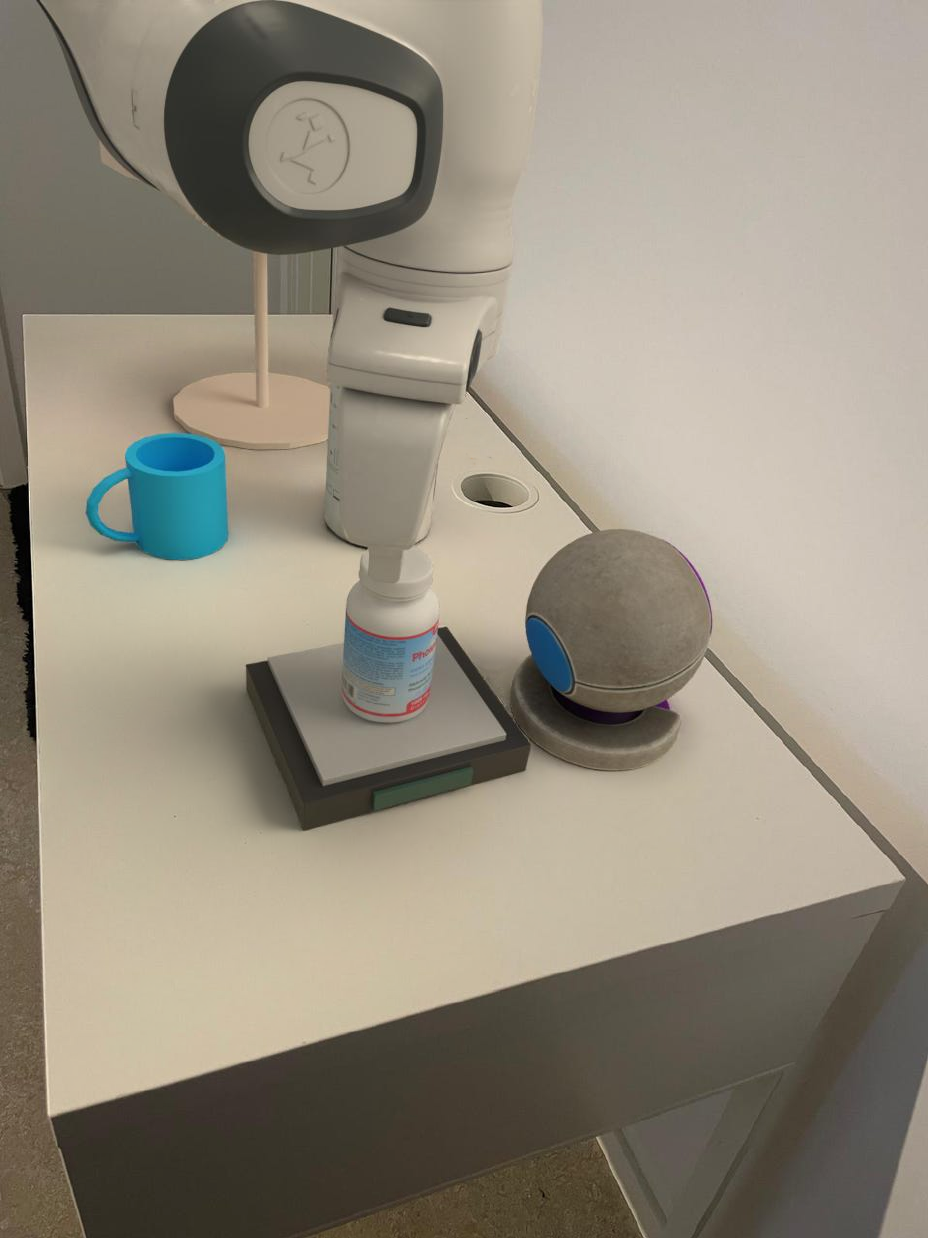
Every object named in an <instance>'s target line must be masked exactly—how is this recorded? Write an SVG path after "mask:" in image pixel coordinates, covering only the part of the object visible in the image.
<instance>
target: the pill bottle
mask: <svg viewBox="0 0 928 1238" xmlns="http://www.w3.org/2000/svg"><path fill="white" fill-rule="evenodd" d="M368 565H369V551H368V548H366V550H365V551H363V553H362V555H361V557H360V561H359V569H358V578H359V579H358V580H357V582H355V583H354V585H352V587H351V588H350V589H349V592H348V593H347V597H346V604H345V618H344V619H345V620H344V633H343V643H344V650H343V670H342V696H343V699H344V702H345V703H346V705H347V706H348V708H349V709H350V710H351V711H352V712H354V713H355V714H356V715H358V716H360V717H362V718H364V719H367V720H370V721H375V722H385V723H395V722H401V721H406V720H409V719H411V718H413V717H415V716H417V715H418V714H419V713H420V712H422V710H423V709H424V708H425V707H426V705H427V703H428V700H429V695H430V688H431V680H432V672H433V664H434V655H435V647H436V640H437V631H438V628H439V624H440V623H439V622H440V616H441V615H440V613H441V605H440V600H439V597H438V595H437V593H436V591H435V589H434V588H433V587H432V584H433V581H434V577H433V576H434V562H433V559H432V558H431V556H430V555H429V553H427V552H425V551H424V550H422V549H421V548H419V547H416V546H415V545H414V546H413V547H412V548H411V549H409V550H404V557H403V566H402V570H401V575H400V579H399V580H398V582H396V583H393V584H391V583H384V582H378V581H373V580H372V579H370V578H369V575H368Z"/></svg>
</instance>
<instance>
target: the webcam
mask: <svg viewBox="0 0 928 1238" xmlns="http://www.w3.org/2000/svg"><path fill="white" fill-rule="evenodd" d="M712 611H713V610H712V606H711V600H710V598H709V594H708V591H707V588H706V585H705V583H704V581H703V580H702V577H701V576H700V574H699V572H698V571H697V569H696V568H695V567H694V564H692V561H690V560H689V559H688V557H687V556H685V554H683V553H682V552H681V551H680V550H679V549H677V547H675V546H674V545H672V544H671V543H670V542H668V541H666V540H665V539H662V538H659V537H657V536H654V535H651V534H648V533H645V532H644V531H640V530H636V529H635V530H633V529H624V528H615V529H614V528H612V529H611V528H610V529H604V530H598V531H594V532H592V533H588V534H585V535H582V536H580V537H579V538H576V539H575V540H573V541H571V542H570V543H568V544H566V545H564V546H563V547H562V548H561V549H559V550H558V551H556V553H554V555H552V557H551V558H549V560H548V561H547V562H546V563H545V565H544V566H543V567H542V569H541V570H540V571H539V573H538V574H537V577H536V578H535V580H534V582H533V584H532V587H531V590H530V591H529V595H528V598H527V602H526V609H525V618H524V628H525V636H526V641H527V645H528V649H529V651H530V654H529V655H528V656H527V657H526V658H525V659H524V660H523V661H522V662H521V663H520V664H519V666H518V668H517V670H516V671H515V674H514V677H513V680H512V683H511V688H510V693H509V703H510V709H511V712H512V714H513V717H514V719H515V721H516V724H518V727H520V730H521V731H522V732H523V733H524V734H525V735H526V736H527V737H528V738H529V739H530V740H532V741H533V742H534V743H535V744H536V745H537V746H539V747H540V748H542V749H543V750H544V751H546V752H548V753H549V754H551V755H553V756H555V757H557V758H559V759H562V760H564V761H566V762H568V763H570V764H571V763H572V764H574V765H578V766H580V767H585V768H588V769H594V770H602V771H603V770H604V771H624V770H625V771H626V770H634V769H637V768H643V767H645V766H648V765H651V764H654V763H655V762H657V761H659V760H660V759H661V758H663V757H664V756H665V755H667V754H668V753H669V751H670V750H671V749H672V748H673V746H674V744H675V743H676V741H677V738H678V735H679V733H680V728H681V725H682V720H683V719H682V714H681V713H680V712H677V711H675V710H671V708H670V704H669V701H668V700H669V699H671V697H673V696H674V695H675V694H677V693H679V691H681V690H682V689H683V688H684V687H686V685H687V684H688V683H689V682H690V681H691V680H692V678H694V676H695V674H696V673H697V671H698V670H699V668H700V667H701V664H702V663H703V660H704V658H705V656H706V653H707V649H708V646H709V643H710V638H711V636H712V631H713V612H712Z"/></svg>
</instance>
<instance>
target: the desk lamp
mask: <svg viewBox="0 0 928 1238" xmlns="http://www.w3.org/2000/svg"><path fill="white" fill-rule="evenodd" d="M98 142H99V152H100V160H101V163H102V164H104V165H105V166H107V167H109V168H110V169H112V170H114V171H115V172H118V173H119V174H121V175H123V176H124V177H126V178H128V179H129V178H130V179H133V180H136V181H140V182H142V181H141V180H139V179H138V178H136V177H135V176H133V175H132V174H131V173H129V172H128V171H127V170H126V169H125V168H123V167H122V166H121V165H120V164H119V163H118V162H117V161H116V160H115V159H114V158H113V157H112V155H111V154H110V153H109V152H108V151H107V149H106V148H105V147H104V146H103V144H102V143H101V141H100V140H99V139H98ZM252 252H253V254H252V255H253V259H252V260H253V306H254V313H253V314H254V358H255V359H254V360H255V361H254V365H255V372H248V371H247V372H239V371H238V372H233V373H232V372H231V373H226V374H218V375H212V376H207V377H205V378H202V379H200V380H197V381H195V382H192V383H189V384H187V385H185V386H183V388H182V389H181V390H180V391H178V393H177V394H176V395H175V396H174V397H173V398H172V400H173V403H172V404H173V416H174V417H173V418H174V420H175V421H176V422H177V423H178V424H179V425H180V426H181V427H183V428H184V429H185V430H186V431H187V432H188V434H194V435H199V436H203V437H206V438H208V439H211V440H213V441H215V442H216V443H218V444H219V445H221V446H222V445H223V446H229V447H234V448H242V449H247V450H253V451H255V450H256V451H257V450H259V451H261V450H293V449H297V448H301V447H306V446H311V445H316V444H320V443H323V442H325V441H328V425H329V403H330V387H328V386H327V385H323V384H321V383H318V382H315V381H313V380H309V379H307V378H304V377H300V376H295V375H288V374H281V373H275V372H269V329H268V328H269V319H268V317H269V314H268V311H269V309H268V305H269V304H268V254H266V253H260V252H256V251H253V250H252Z"/></svg>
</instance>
